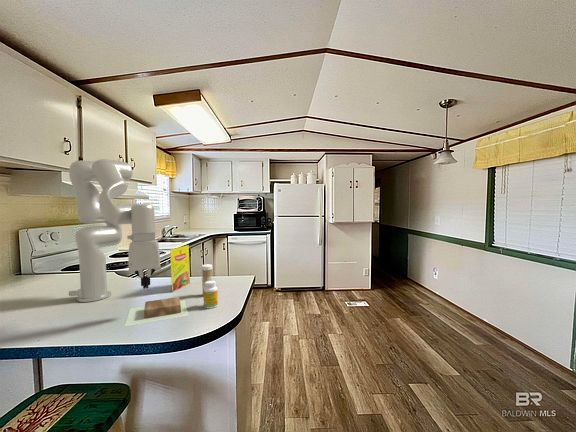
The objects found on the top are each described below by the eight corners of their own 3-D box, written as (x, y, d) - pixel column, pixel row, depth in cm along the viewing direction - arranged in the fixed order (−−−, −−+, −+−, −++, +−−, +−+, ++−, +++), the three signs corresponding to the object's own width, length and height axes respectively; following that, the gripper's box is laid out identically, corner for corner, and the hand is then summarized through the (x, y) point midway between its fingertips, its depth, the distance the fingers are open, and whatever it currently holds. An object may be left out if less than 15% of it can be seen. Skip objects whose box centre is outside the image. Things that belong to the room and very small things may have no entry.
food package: (172, 292, 128) (171, 249, 127) (170, 292, 128) (169, 249, 128) (190, 283, 143) (189, 244, 142) (188, 283, 143) (187, 244, 143)
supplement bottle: (205, 309, 106) (204, 284, 106) (202, 305, 111) (202, 281, 110) (219, 307, 108) (218, 282, 108) (216, 302, 113) (215, 279, 113)
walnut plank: (144, 310, 97) (180, 304, 102) (145, 301, 106) (179, 296, 111) (144, 318, 97) (180, 312, 102) (145, 309, 106) (179, 304, 111)
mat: (124, 327, 91) (124, 326, 91) (130, 309, 107) (130, 308, 107) (188, 316, 99) (188, 315, 99) (184, 301, 116) (184, 300, 116)
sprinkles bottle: (200, 295, 123) (199, 265, 123) (209, 292, 127) (208, 263, 126) (206, 297, 120) (205, 266, 120) (215, 294, 124) (214, 264, 123)
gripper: (118, 240, 94) (120, 293, 95) (166, 237, 100) (168, 287, 101) (121, 238, 101) (123, 287, 102) (166, 235, 107) (167, 282, 108)
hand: (145, 287), depth 101 cm, fingers closed
